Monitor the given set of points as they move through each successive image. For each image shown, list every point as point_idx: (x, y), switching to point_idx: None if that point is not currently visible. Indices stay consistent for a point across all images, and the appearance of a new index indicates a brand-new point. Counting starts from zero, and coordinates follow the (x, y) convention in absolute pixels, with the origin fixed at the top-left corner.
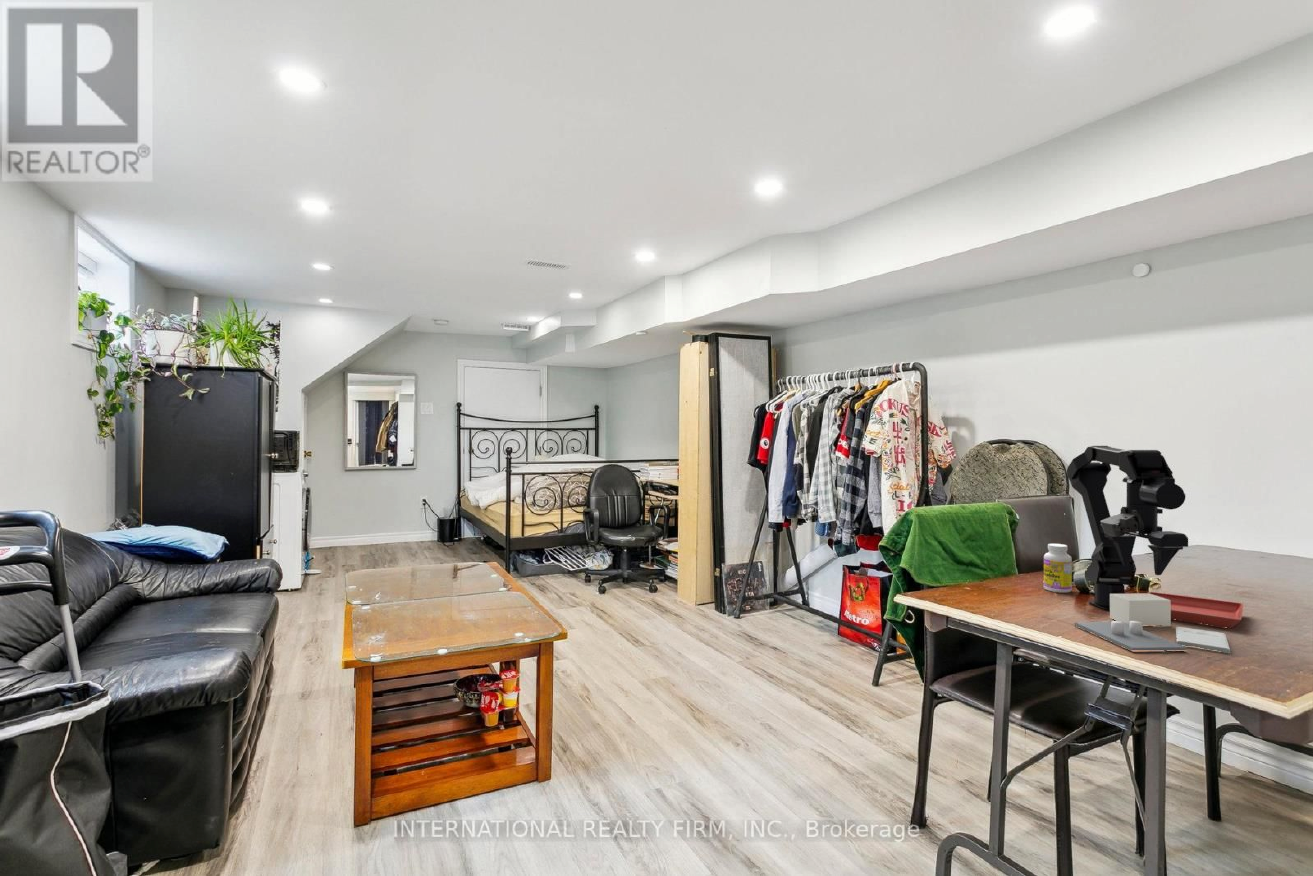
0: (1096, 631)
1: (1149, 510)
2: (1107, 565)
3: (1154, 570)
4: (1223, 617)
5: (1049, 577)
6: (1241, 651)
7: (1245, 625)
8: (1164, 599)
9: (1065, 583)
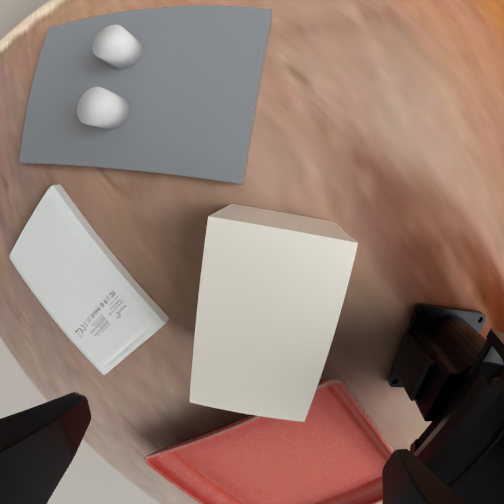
0: (163, 8)
1: None
2: (500, 408)
3: (67, 410)
4: (161, 451)
5: None
6: (31, 300)
7: None
8: (202, 393)
9: None
